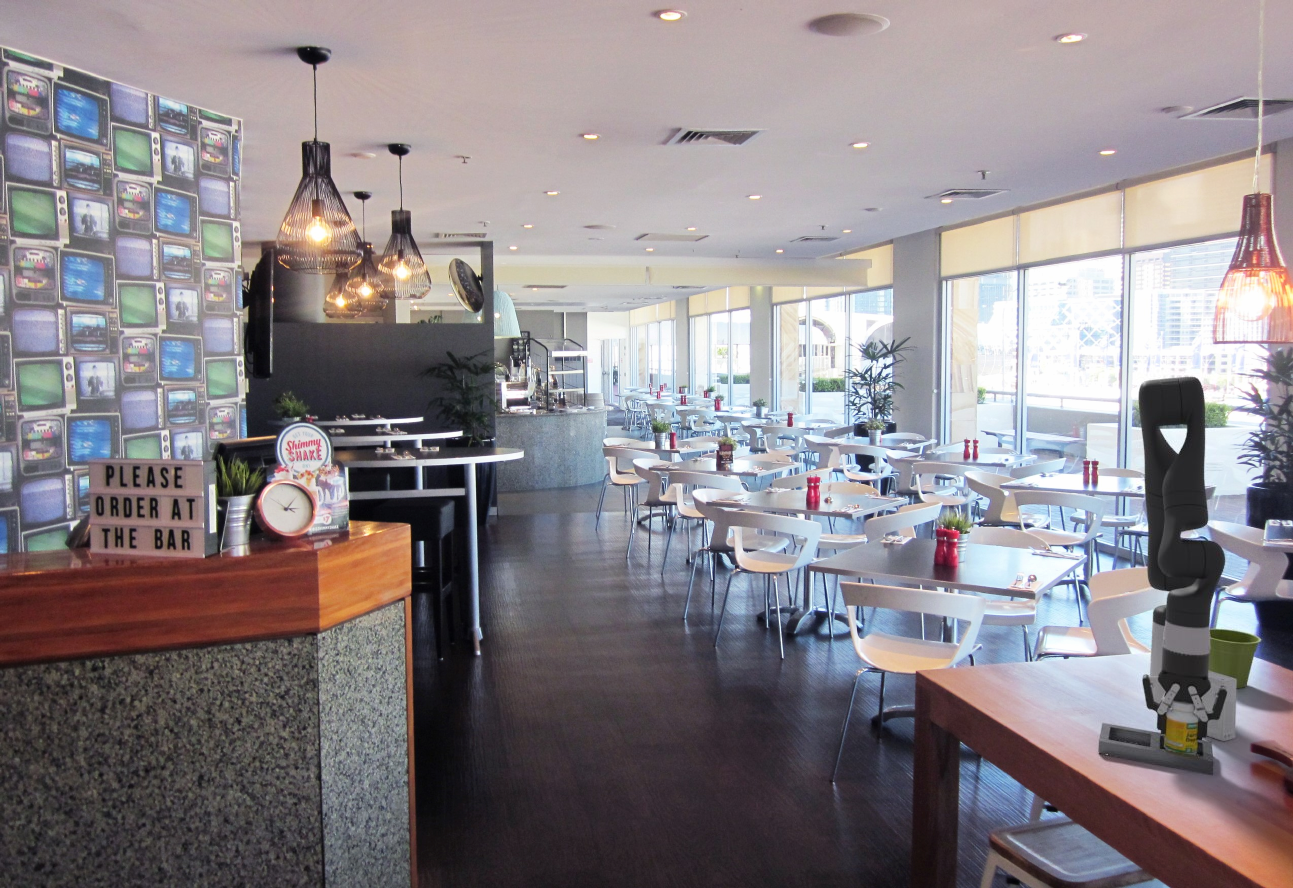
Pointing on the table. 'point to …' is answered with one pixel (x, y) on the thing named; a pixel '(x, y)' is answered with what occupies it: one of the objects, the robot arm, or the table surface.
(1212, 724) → the skincare box
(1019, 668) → the table surface
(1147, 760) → the rail
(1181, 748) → the supplement bottle
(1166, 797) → the table surface
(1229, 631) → the plant pot
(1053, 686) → the table surface
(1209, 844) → the table surface
